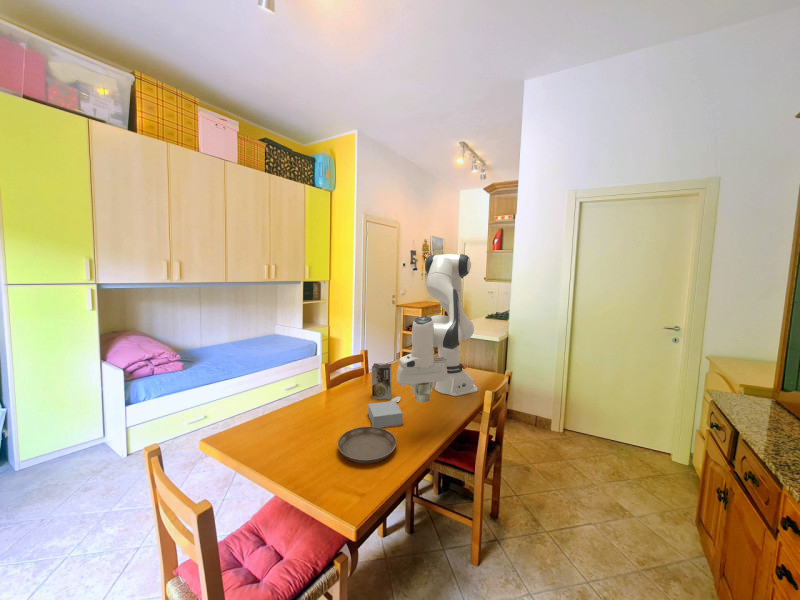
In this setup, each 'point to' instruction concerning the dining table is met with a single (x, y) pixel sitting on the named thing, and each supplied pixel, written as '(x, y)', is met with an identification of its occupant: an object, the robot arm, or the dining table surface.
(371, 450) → the plant saucer
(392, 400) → the spoon
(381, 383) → the coffee box
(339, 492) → the dining table surface
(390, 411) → the plinth
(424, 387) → the sage block
